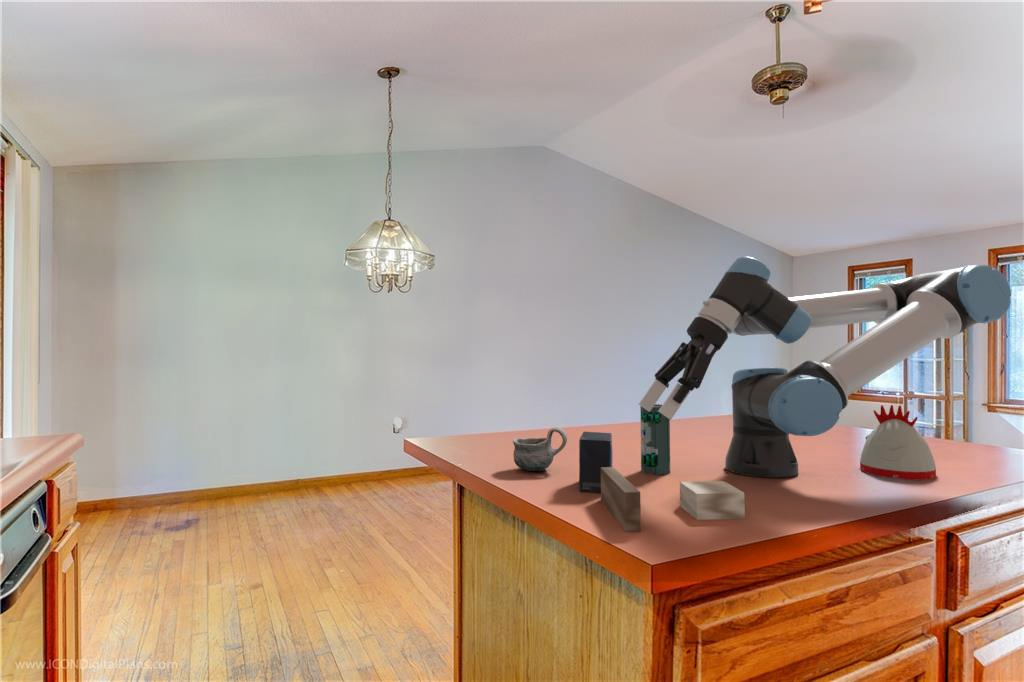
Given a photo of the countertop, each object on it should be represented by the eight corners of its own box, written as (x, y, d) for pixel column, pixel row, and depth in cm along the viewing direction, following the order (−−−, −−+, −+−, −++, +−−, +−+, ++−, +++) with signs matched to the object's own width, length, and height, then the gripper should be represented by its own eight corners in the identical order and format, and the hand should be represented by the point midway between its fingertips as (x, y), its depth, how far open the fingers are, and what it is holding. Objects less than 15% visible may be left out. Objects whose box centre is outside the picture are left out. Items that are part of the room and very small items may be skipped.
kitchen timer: (868, 463, 134) (867, 400, 134) (940, 471, 124) (938, 404, 124) (853, 473, 124) (852, 405, 124) (930, 483, 114) (928, 410, 114)
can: (638, 469, 129) (637, 404, 129) (663, 468, 130) (662, 404, 130) (647, 475, 123) (646, 407, 123) (673, 474, 124) (673, 406, 124)
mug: (513, 465, 134) (513, 424, 134) (565, 465, 134) (565, 423, 134) (512, 475, 125) (512, 430, 125) (568, 474, 124) (568, 429, 124)
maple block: (724, 506, 100) (723, 481, 100) (744, 520, 92) (744, 492, 92) (680, 507, 99) (679, 481, 99) (696, 521, 91) (696, 493, 91)
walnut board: (613, 499, 104) (613, 467, 104) (640, 531, 86) (640, 492, 86) (600, 499, 104) (600, 467, 104) (625, 531, 86) (624, 492, 86)
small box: (612, 494, 108) (611, 439, 108) (578, 492, 109) (577, 438, 109) (613, 481, 118) (612, 431, 118) (582, 479, 120) (581, 431, 120)
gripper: (676, 318, 125) (623, 395, 124) (724, 310, 100) (657, 407, 99) (703, 337, 125) (650, 415, 125) (757, 334, 100) (691, 431, 100)
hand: (653, 411), depth 112 cm, fingers open, 13 cm apart
